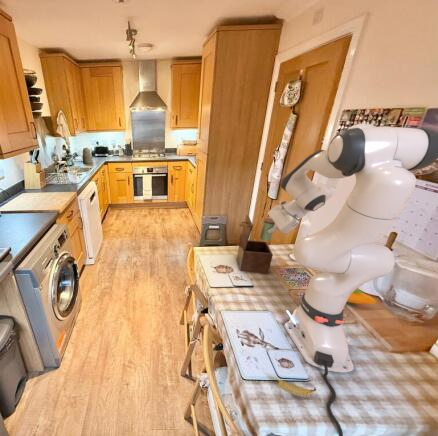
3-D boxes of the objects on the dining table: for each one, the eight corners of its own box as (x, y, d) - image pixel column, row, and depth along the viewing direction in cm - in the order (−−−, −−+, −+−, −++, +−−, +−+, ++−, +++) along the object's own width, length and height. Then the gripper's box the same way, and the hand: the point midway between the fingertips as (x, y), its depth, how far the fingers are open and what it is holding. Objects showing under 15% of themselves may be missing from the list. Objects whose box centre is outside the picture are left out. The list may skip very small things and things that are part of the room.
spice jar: (272, 241, 112) (276, 222, 108) (261, 240, 113) (265, 222, 109) (269, 236, 117) (273, 218, 113) (259, 235, 118) (262, 217, 114)
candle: (306, 261, 127) (319, 220, 117) (293, 261, 127) (305, 220, 117) (299, 254, 134) (310, 215, 123) (286, 254, 134) (297, 215, 124)
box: (262, 260, 129) (266, 241, 124) (268, 273, 118) (272, 254, 113) (237, 257, 132) (239, 239, 127) (240, 270, 121) (243, 251, 116)
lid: (248, 215, 121) (238, 213, 121) (253, 225, 109) (242, 223, 110) (240, 239, 127) (231, 237, 128) (244, 251, 116) (234, 249, 116)
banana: (276, 393, 68) (279, 384, 66) (274, 384, 70) (276, 376, 68) (314, 401, 65) (318, 393, 64) (311, 392, 68) (315, 384, 66)
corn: (319, 275, 104) (376, 287, 96) (314, 288, 107) (369, 300, 100) (322, 287, 98) (384, 300, 90) (317, 299, 101) (376, 313, 94)
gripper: (306, 225, 99) (277, 243, 104) (288, 208, 117) (264, 224, 123) (297, 215, 98) (268, 234, 103) (281, 199, 116) (257, 216, 122)
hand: (266, 228), depth 113 cm, fingers closed on spice jar, 5 cm apart
